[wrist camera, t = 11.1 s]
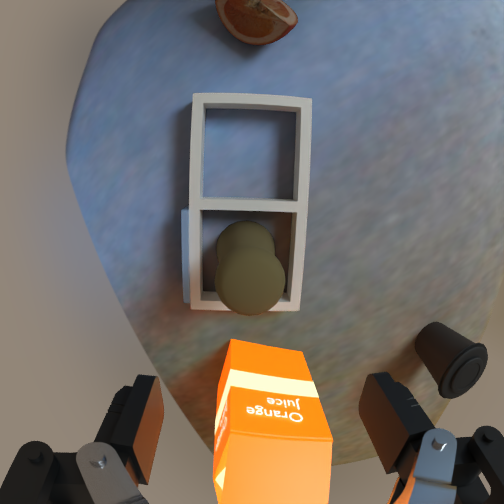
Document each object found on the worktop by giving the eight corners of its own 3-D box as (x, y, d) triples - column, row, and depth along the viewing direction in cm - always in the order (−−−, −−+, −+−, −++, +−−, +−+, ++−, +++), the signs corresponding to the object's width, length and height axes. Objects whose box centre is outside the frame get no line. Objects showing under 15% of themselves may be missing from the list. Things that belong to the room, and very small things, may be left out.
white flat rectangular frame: (190, 99, 27) (185, 91, 24) (306, 104, 28) (313, 96, 25) (188, 299, 33) (184, 312, 29) (294, 301, 33) (300, 313, 30)
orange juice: (230, 337, 34) (229, 488, 15) (303, 351, 35) (352, 489, 16) (217, 387, 36) (209, 526, 16) (283, 398, 37) (310, 529, 17)
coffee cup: (437, 362, 37) (472, 400, 28) (397, 362, 37) (431, 406, 27) (459, 314, 35) (501, 347, 26) (420, 310, 35) (463, 347, 25)
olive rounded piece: (283, 232, 31) (308, 263, 21) (262, 285, 33) (275, 337, 22) (227, 212, 30) (223, 233, 20) (208, 266, 32) (196, 313, 21)
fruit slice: (204, 20, 25) (200, -2, 20) (248, -13, 24) (250, -36, 19) (262, 63, 27) (267, 45, 22) (304, 28, 26) (315, 8, 21)
